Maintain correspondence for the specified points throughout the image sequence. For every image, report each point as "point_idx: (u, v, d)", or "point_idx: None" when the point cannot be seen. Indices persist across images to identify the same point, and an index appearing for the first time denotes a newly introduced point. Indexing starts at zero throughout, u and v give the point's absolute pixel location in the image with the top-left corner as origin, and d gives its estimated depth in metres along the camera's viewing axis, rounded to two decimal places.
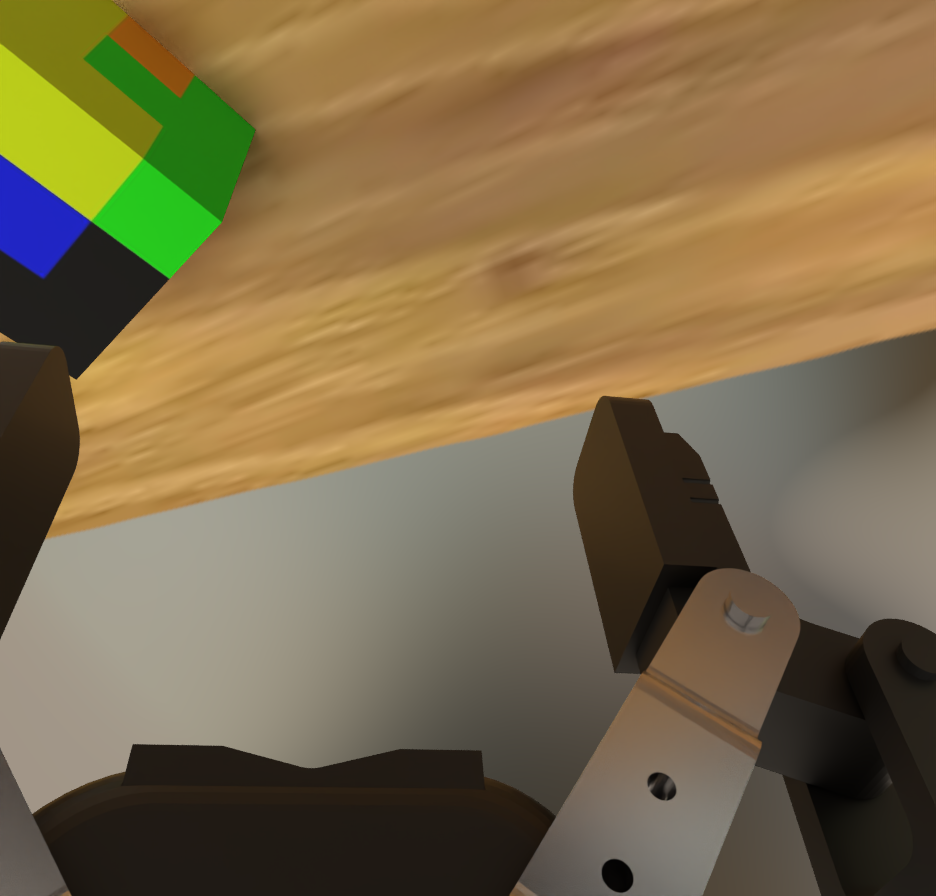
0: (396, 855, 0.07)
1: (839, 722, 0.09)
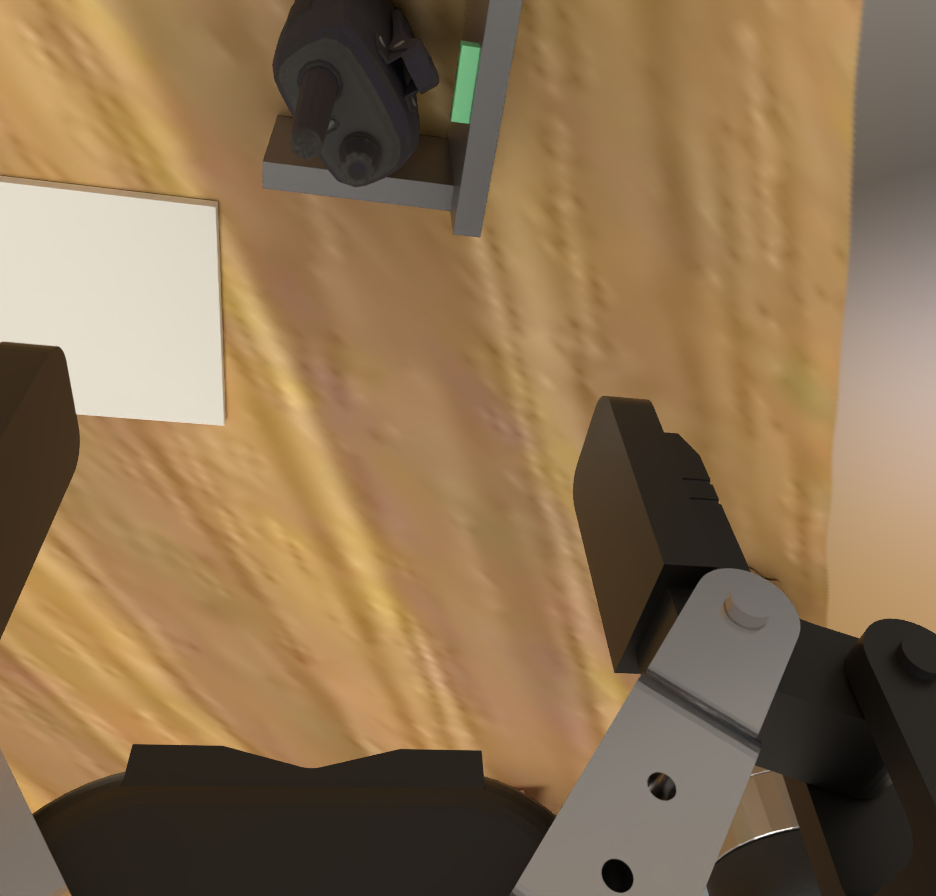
0: (396, 855, 0.07)
1: (839, 722, 0.09)
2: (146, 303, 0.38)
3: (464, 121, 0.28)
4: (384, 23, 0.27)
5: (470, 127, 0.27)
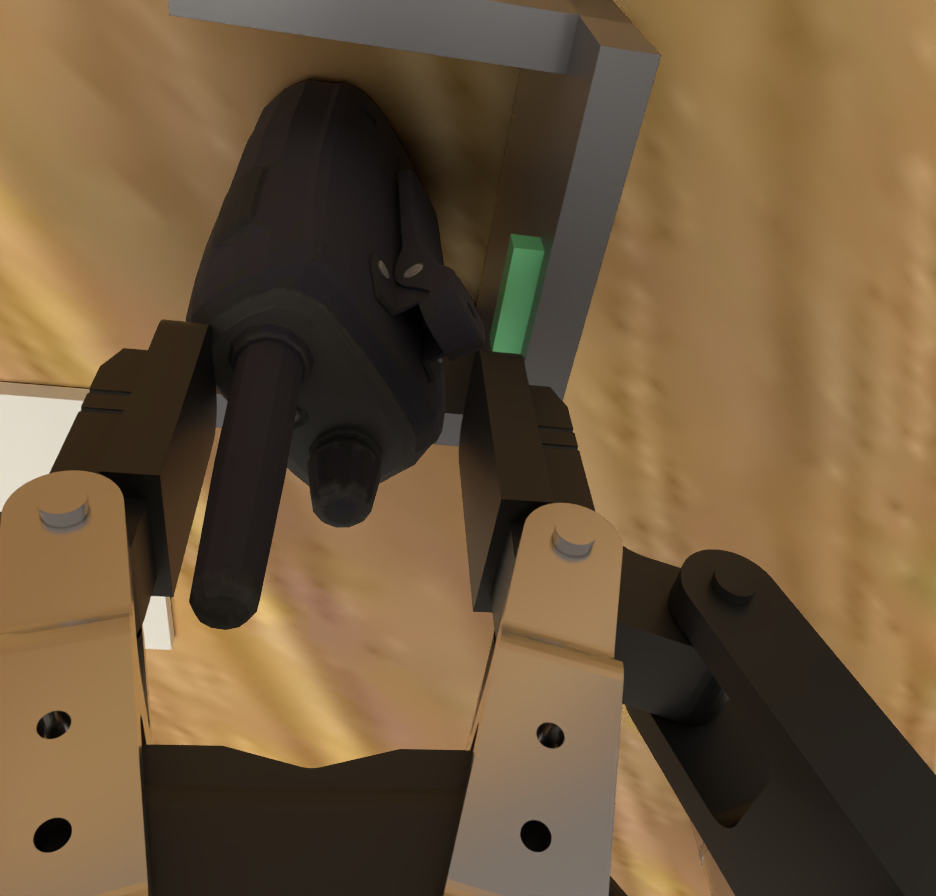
0: (396, 855, 0.07)
1: (657, 645, 0.10)
2: None
3: (513, 352, 0.17)
4: (386, 207, 0.16)
5: None
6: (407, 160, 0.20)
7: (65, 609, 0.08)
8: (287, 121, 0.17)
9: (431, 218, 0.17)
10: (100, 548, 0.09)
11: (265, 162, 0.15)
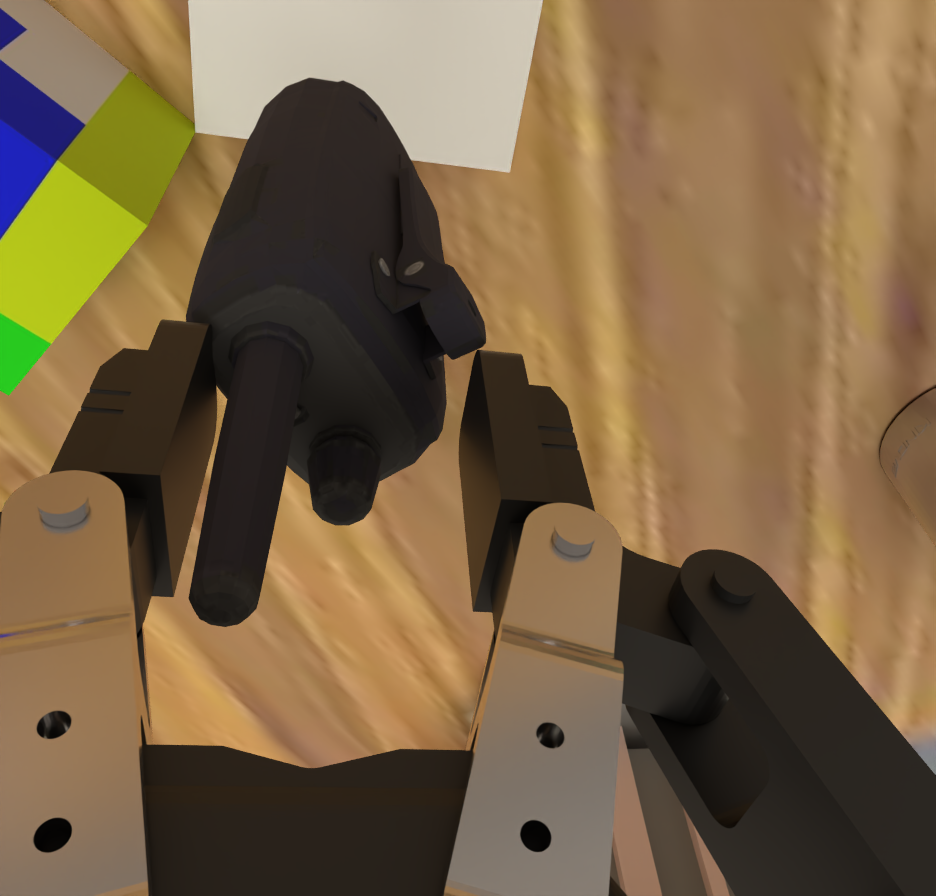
0: (396, 855, 0.07)
1: (657, 645, 0.10)
2: None
3: None
4: (387, 205, 0.16)
5: None
6: (408, 158, 0.20)
7: (65, 609, 0.08)
8: (288, 118, 0.17)
9: (432, 216, 0.17)
10: (100, 548, 0.09)
11: (266, 159, 0.15)
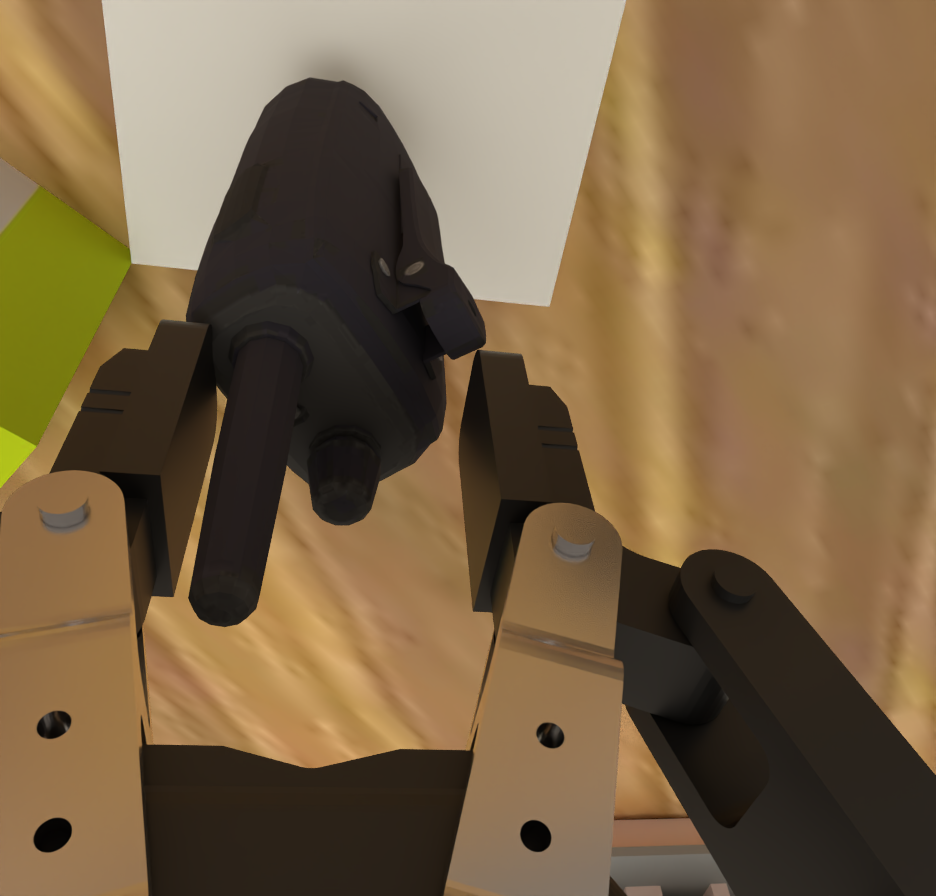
0: (396, 855, 0.07)
1: (657, 645, 0.10)
2: (492, 90, 0.24)
3: None
4: (387, 205, 0.16)
5: None
6: (408, 158, 0.20)
7: (66, 609, 0.08)
8: (288, 118, 0.17)
9: (432, 216, 0.17)
10: (100, 548, 0.09)
11: (266, 159, 0.15)
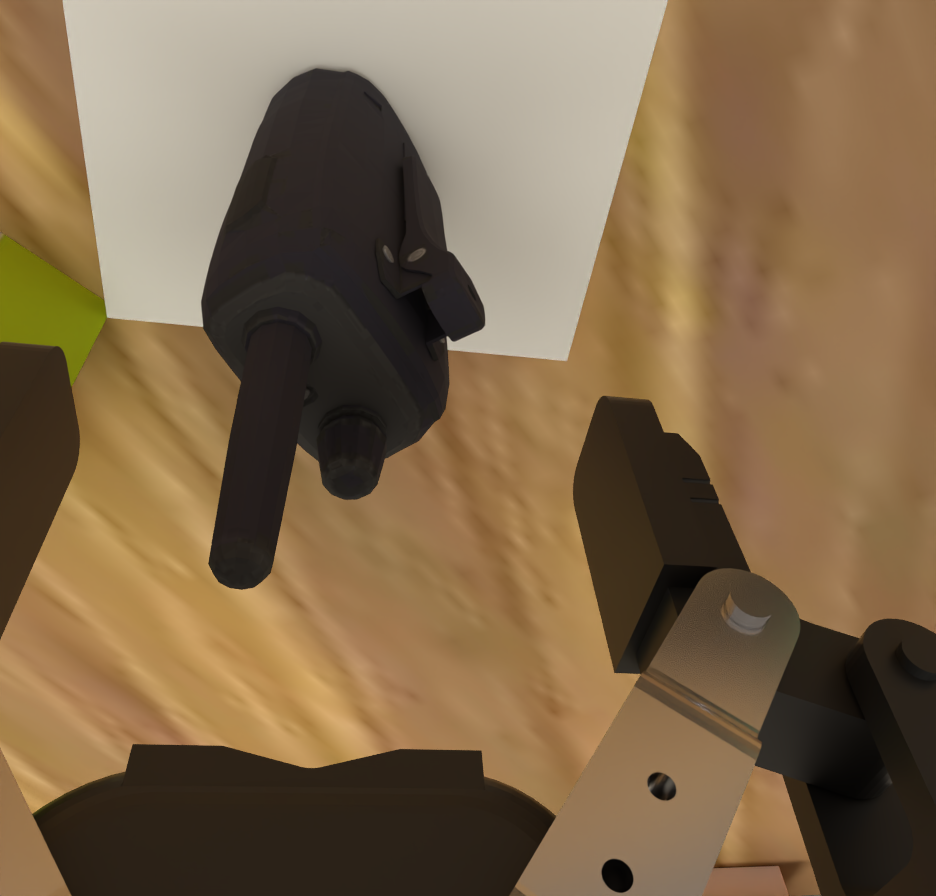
0: (396, 855, 0.07)
1: (839, 722, 0.09)
2: (507, 131, 0.21)
3: None
4: (391, 193, 0.17)
5: None
6: (412, 146, 0.21)
7: None
8: (295, 110, 0.17)
9: (435, 203, 0.18)
10: None
11: (274, 151, 0.16)
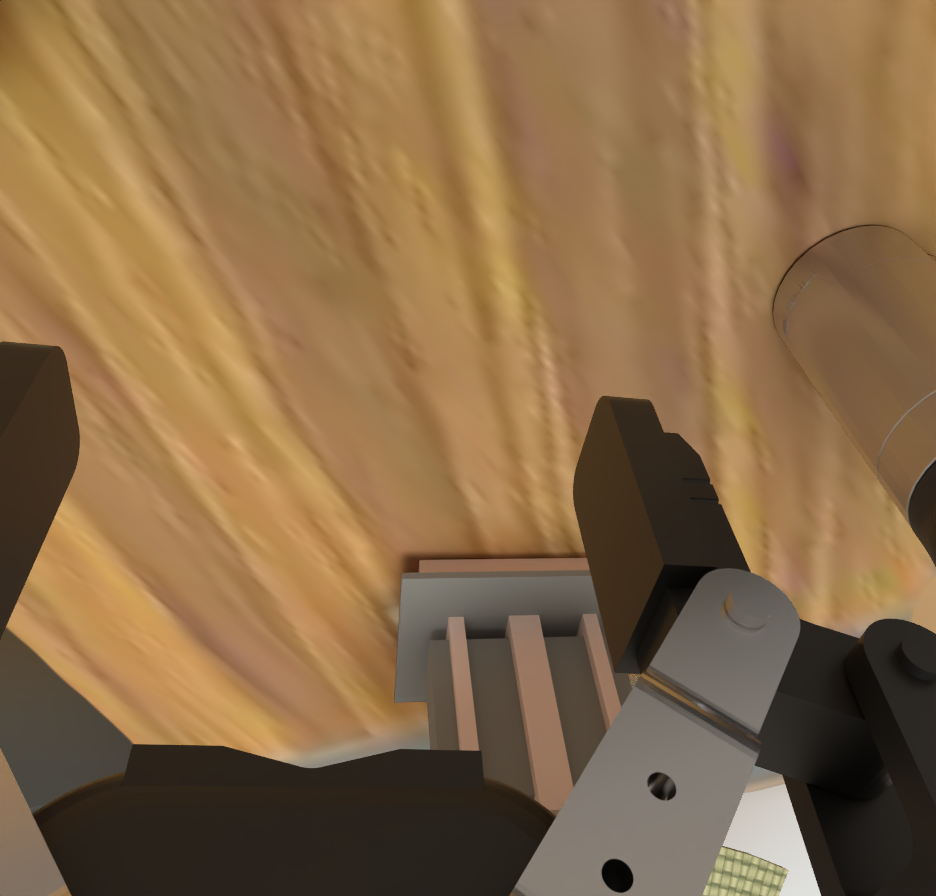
0: (396, 855, 0.07)
1: (839, 722, 0.09)
2: None
3: None
4: None
5: None
6: None
7: None
8: None
9: None
10: None
11: None
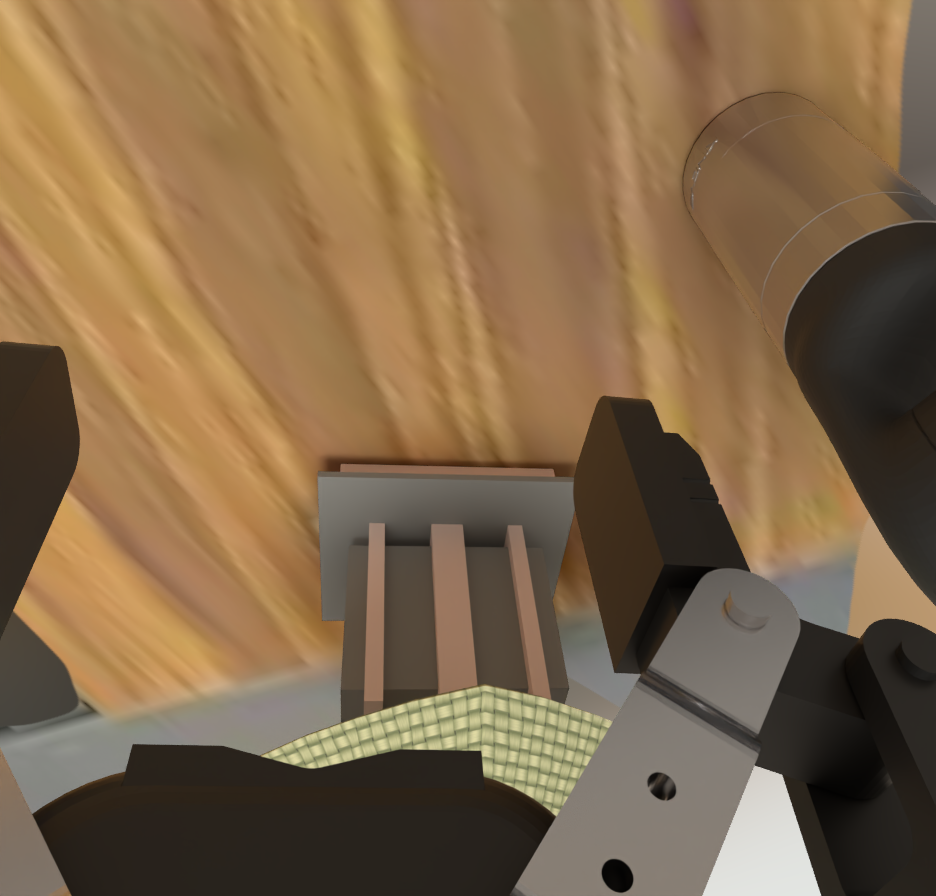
0: (396, 855, 0.07)
1: (839, 722, 0.09)
2: None
3: None
4: None
5: None
6: None
7: None
8: None
9: None
10: None
11: None
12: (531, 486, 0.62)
